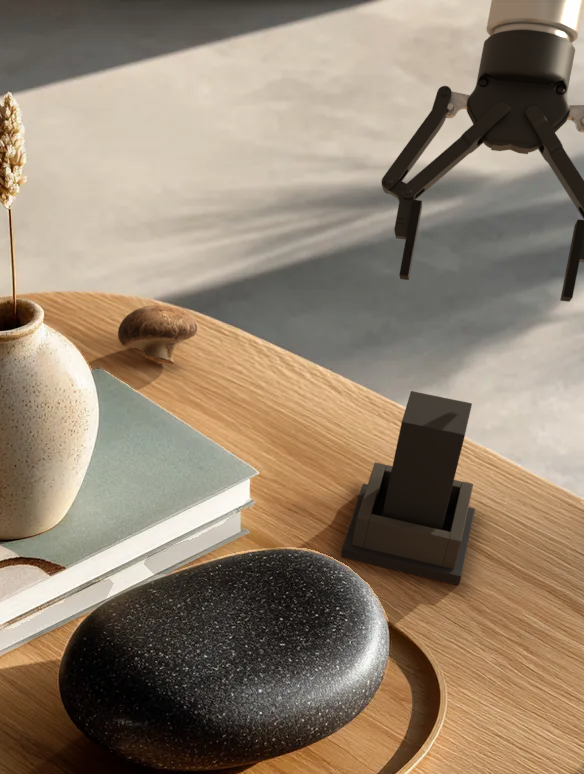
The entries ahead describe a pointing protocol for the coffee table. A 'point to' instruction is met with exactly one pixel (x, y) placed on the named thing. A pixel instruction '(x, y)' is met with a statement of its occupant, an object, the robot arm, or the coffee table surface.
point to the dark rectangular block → (426, 459)
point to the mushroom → (157, 331)
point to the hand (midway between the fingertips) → (483, 288)
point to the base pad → (409, 533)
